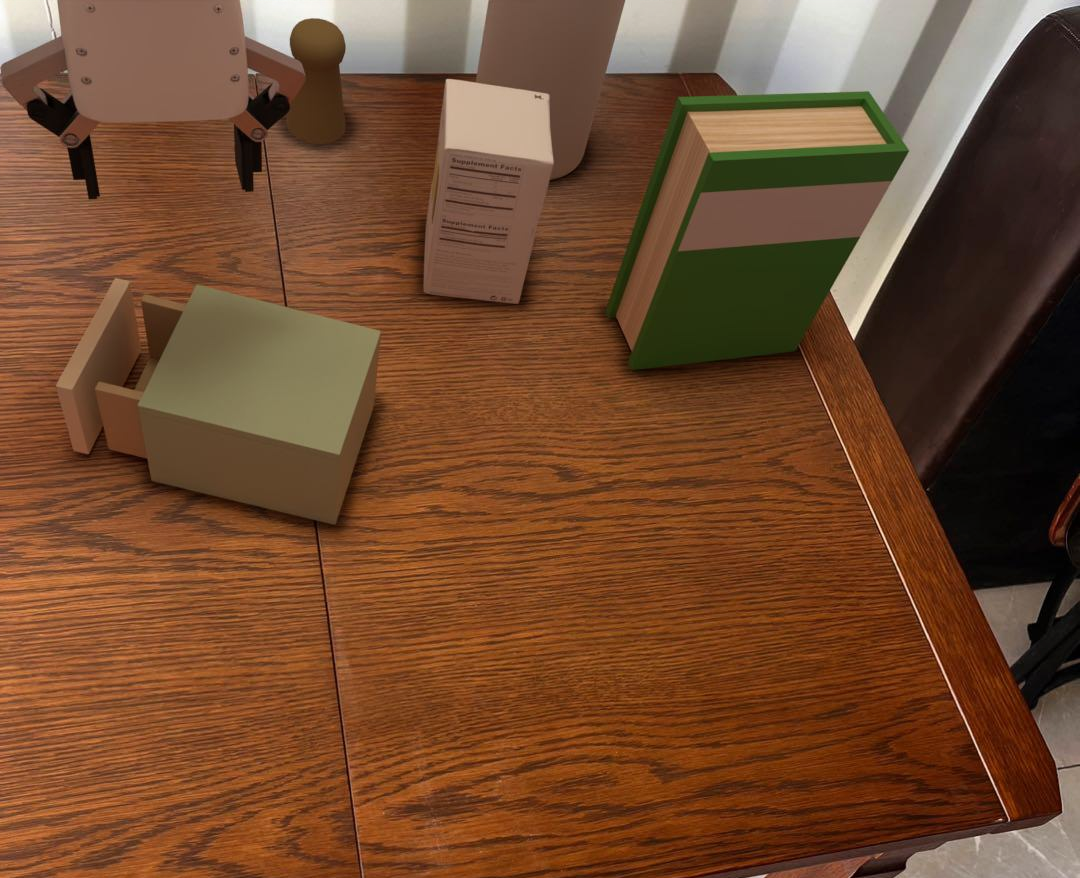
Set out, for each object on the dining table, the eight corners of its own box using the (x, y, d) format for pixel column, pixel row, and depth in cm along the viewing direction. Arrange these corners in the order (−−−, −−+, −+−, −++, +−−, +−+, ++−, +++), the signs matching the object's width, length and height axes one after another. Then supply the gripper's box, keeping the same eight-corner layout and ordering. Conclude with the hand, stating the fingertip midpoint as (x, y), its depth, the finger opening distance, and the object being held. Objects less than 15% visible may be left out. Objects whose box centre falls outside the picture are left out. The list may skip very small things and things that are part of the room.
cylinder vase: (481, 185, 111) (524, -56, 90) (456, 106, 117) (491, -137, 96) (596, 184, 114) (663, -49, 94) (566, 107, 120) (622, -127, 100)
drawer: (57, 447, 84) (38, 381, 77) (113, 342, 90) (99, 273, 84) (245, 492, 85) (242, 431, 78) (287, 385, 91) (287, 320, 85)
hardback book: (630, 372, 101) (713, 160, 81) (604, 313, 104) (678, 97, 84) (794, 353, 106) (909, 150, 87) (764, 298, 110) (868, 91, 90)
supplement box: (424, 226, 106) (444, 73, 92) (517, 237, 108) (550, 89, 94) (422, 297, 101) (443, 147, 87) (520, 308, 102) (556, 162, 89)
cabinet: (151, 483, 85) (137, 405, 77) (204, 366, 92) (196, 283, 84) (335, 527, 86) (339, 454, 78) (373, 408, 93) (381, 330, 85)
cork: (321, 155, 109) (324, 56, 99) (273, 126, 109) (271, 26, 100) (358, 127, 112) (363, 29, 103) (310, 100, 113) (312, 0, 104)
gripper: (294, -110, 62) (291, 139, 76) (-41, -124, 56) (22, 148, 71) (321, -33, 59) (312, 213, 73) (-33, -39, 53) (32, 229, 67)
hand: (169, 181), depth 72 cm, fingers open, 9 cm apart
